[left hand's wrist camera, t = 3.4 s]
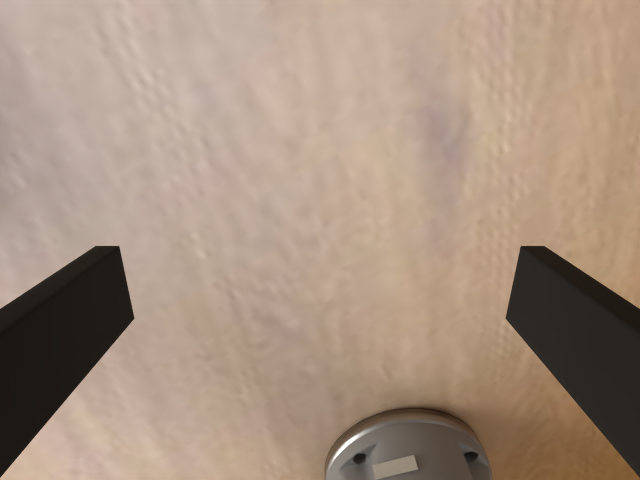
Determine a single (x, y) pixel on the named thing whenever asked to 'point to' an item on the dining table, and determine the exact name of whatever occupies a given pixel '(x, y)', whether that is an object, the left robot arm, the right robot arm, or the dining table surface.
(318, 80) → the dining table surface
